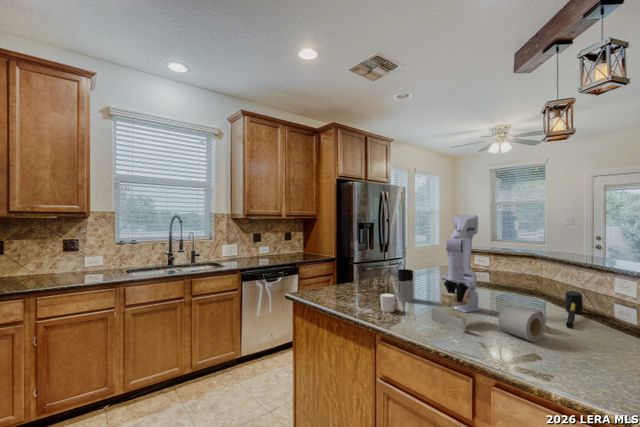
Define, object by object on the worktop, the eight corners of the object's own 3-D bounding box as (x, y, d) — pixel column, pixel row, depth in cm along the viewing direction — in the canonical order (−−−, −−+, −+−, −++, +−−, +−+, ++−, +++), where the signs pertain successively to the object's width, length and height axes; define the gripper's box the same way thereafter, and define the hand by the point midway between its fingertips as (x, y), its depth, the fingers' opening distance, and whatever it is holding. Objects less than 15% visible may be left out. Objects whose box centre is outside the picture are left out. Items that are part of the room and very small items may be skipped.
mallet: (580, 331, 116) (579, 306, 116) (560, 327, 120) (559, 303, 120) (583, 313, 138) (583, 291, 138) (565, 310, 142) (565, 289, 142)
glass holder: (416, 301, 155) (416, 272, 155) (388, 301, 155) (388, 272, 155) (411, 297, 164) (411, 269, 164) (384, 297, 164) (384, 269, 164)
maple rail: (462, 301, 131) (462, 291, 131) (469, 303, 128) (469, 293, 128) (441, 305, 126) (441, 294, 126) (448, 307, 123) (448, 296, 123)
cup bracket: (473, 330, 116) (473, 317, 116) (463, 332, 114) (463, 319, 114) (440, 317, 131) (440, 306, 131) (431, 319, 129) (431, 307, 129)
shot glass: (395, 313, 137) (395, 297, 137) (380, 312, 139) (380, 296, 139) (395, 308, 144) (395, 293, 144) (380, 307, 145) (380, 292, 146)
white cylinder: (538, 332, 115) (538, 311, 115) (513, 326, 121) (514, 306, 121) (546, 326, 122) (546, 306, 122) (523, 320, 128) (523, 302, 128)
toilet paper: (498, 333, 114) (498, 306, 114) (516, 329, 118) (516, 303, 118) (526, 344, 104) (526, 314, 104) (544, 339, 108) (544, 311, 108)
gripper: (435, 265, 132) (435, 297, 132) (463, 271, 119) (463, 306, 119) (447, 264, 135) (447, 295, 135) (476, 269, 122) (476, 304, 122)
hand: (456, 300), depth 127 cm, fingers closed on maple rail, 3 cm apart
